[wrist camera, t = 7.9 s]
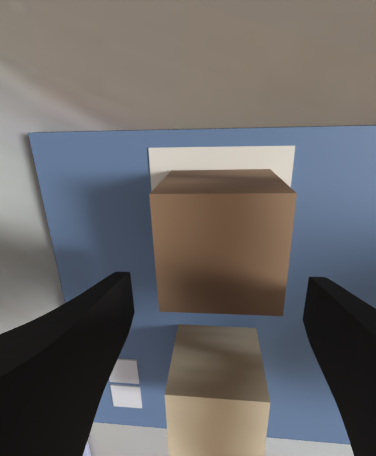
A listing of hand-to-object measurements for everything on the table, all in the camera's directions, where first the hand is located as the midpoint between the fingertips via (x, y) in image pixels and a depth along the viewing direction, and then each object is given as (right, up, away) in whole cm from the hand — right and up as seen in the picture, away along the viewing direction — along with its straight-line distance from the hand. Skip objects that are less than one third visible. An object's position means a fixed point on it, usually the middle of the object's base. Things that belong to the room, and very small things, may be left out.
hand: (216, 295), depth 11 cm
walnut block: (0, +3, +2) cm, 4 cm away
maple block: (+1, -5, +6) cm, 8 cm away
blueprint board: (+4, -2, +5) cm, 6 cm away
